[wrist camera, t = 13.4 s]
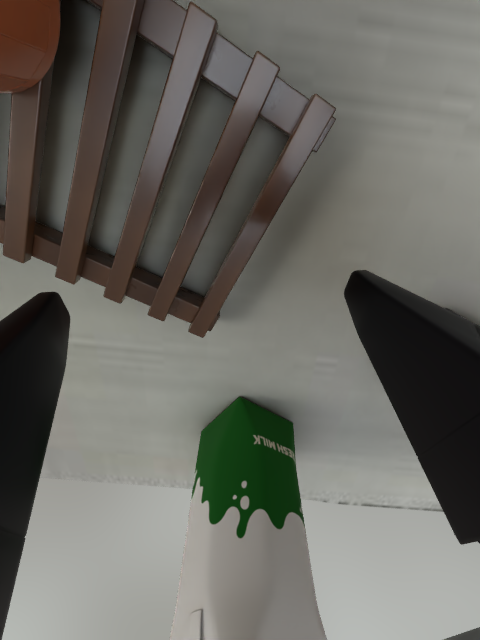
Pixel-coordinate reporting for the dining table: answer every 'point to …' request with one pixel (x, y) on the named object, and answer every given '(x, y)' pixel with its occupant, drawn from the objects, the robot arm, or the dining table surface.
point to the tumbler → (27, 42)
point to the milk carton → (246, 536)
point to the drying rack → (156, 157)
